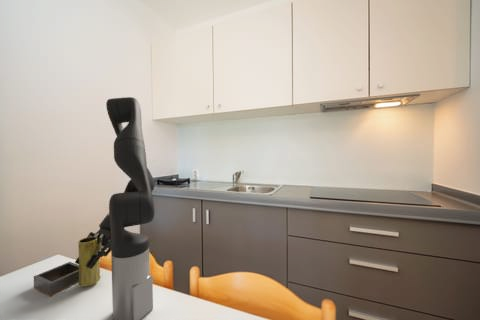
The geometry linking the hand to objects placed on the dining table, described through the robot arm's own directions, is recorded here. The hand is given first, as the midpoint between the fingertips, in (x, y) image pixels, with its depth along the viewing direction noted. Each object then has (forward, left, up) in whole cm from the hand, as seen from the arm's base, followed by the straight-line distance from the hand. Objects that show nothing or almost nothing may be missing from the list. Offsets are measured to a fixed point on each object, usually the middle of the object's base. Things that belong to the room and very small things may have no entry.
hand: (83, 265), depth 68 cm
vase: (0, -2, -6) cm, 7 cm away
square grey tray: (+10, +2, -7) cm, 12 cm away
